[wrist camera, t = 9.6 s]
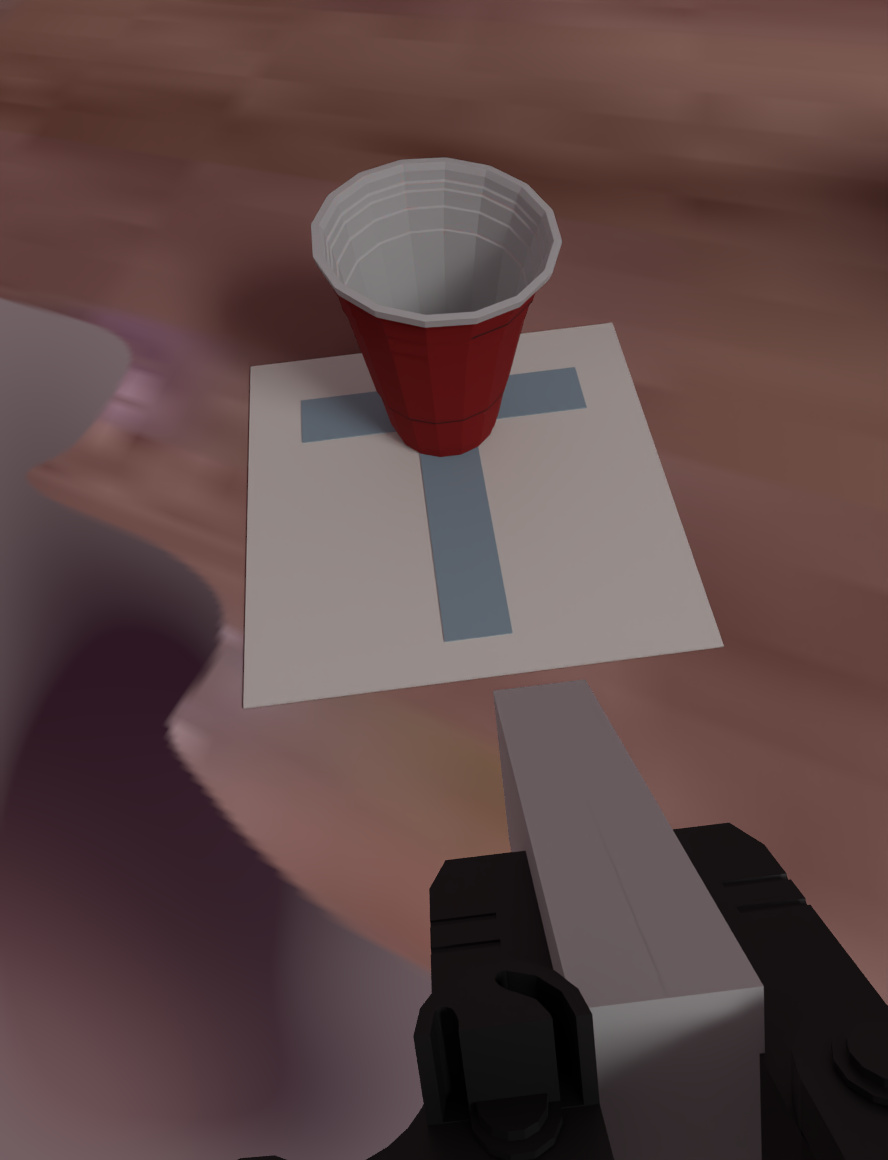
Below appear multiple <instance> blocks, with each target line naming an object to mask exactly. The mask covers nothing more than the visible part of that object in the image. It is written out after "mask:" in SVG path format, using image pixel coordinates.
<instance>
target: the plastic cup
mask: <svg viewBox="0 0 888 1160" xmlns="http://www.w3.org/2000/svg"><path fill="white" fill-rule="evenodd" d="M311 231H312V250H313V258H314V260H315V262H316V264H317V266H318V268H319V269H320V270H321V272H322V273H323V275H324V276H325V277H326V279H327V280H328V282H329V283H330V284H331V286H332V287H333V289H334V292H335V293H336V295H337V296H338V297H339V300H340V303H341V306H342V309H343V311H344V312H345V314H346V315H347V317H348V319H349V322H350V324H351V327H352V329H353V332H354V335H355V337H356V340H357V342H358V345H359V347H360V350H361V352H362V355H363V358H364V360H365V363H366V365H367V368H368V370H369V373H370V376H371V378H372V381H373V383H374V386H375V388H376V391H377V392H378V394H379V395H380V397H381V399H382V401H383V404H384V406H385V409H386V411H387V414H388V417H389V419H390V422H391V424H392V426H393V427H394V429H395V430H396V432H397V433H398V435H399V436H400V437H401V439H402V440H403V442H404V443H405V444H406V445H407V446H409V447H411V448H412V449H414V450H416V451H418V452H419V453H421V454H426V455H432V456H437V457H446V456H454V455H461V454H463V453H466V452H468V451H470V450H472V449H474V448H476V447H478V446H479V445H480V444H481V443H482V442H483V441H484V440H485V439H486V438H487V437H488V436H489V435H490V434H491V431H492V428H493V427H494V426H495V423H496V419H497V416H498V413H499V410H500V406H501V401H502V397H503V393H504V390H505V387H506V384H507V381H508V378H509V375H510V371H511V367H512V364H513V360H514V356H515V352H516V349H517V345H518V341H519V337H520V334H521V330H522V326H523V322H524V319H525V316H526V313H527V310H528V307H529V304H531V303H532V301H533V298H534V295H535V293H536V292H537V291H538V290H539V289H540V288H541V287H542V286H543V285H544V284H545V283H546V282H547V281H548V280H549V278H550V276H551V275H552V272H553V269H554V266H555V263H556V260H557V257H558V253H559V250H560V247H561V244H562V239H561V236H560V232H559V229H558V226H557V222H556V219H555V215H554V212H553V210H552V209H551V208H550V207H549V206H548V205H547V204H546V203H545V202H544V201H543V200H542V199H541V197H540V196H539V195H538V194H537V193H536V192H535V191H534V190H533V189H532V188H531V187H530V186H529V185H528V184H526V183H524V182H522V181H520V180H518V179H516V178H514V177H512V176H510V175H508V174H506V173H504V172H502V171H500V170H498V169H496V168H494V167H491V166H489V165H483V164H478V163H473V162H467V161H462V160H457V159H452V158H446V157H445V158H425V159H406V160H398V161H395V162H392V163H389V164H386V165H382V166H379V167H376V168H373V169H370V170H366V171H363V172H360V173H358V174H357V175H355V176H354V177H353V178H351V179H350V180H348V181H347V182H346V183H344V184H343V185H341V186H340V187H339V188H337V189H336V190H334V191H333V192H331V193H330V194H329V195H328V196H327V198H326V199H325V201H324V203H323V204H322V206H321V208H320V210H319V211H318V213H317V215H316V217H315V218H314V220H313V222H312V224H311Z"/></svg>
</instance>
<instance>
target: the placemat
mask: <svg viewBox="0 0 888 1160" xmlns="http://www.w3.org/2000/svg"><path fill="white" fill-rule="evenodd" d="M723 646H724V645H723V642H722V639H721V636H720V634H719V631H718V628H717V625H716V622H715V619H714V616H713V613H712V610H711V607H710V605H709V602H708V599H707V596H706V593H705V590H704V587H703V584H702V581H701V578H700V576H699V573H698V570H697V567H696V564H695V561H694V558H693V555H692V552H691V549H690V547H689V544H688V541H687V538H686V535H685V532H684V529H683V526H682V523H681V520H680V518H679V515H678V512H677V509H676V506H675V503H674V500H673V497H672V494H671V491H670V489H669V486H668V483H667V480H666V477H665V474H664V471H663V468H662V465H661V463H660V460H659V457H658V454H657V451H656V448H655V445H654V442H653V439H652V436H651V434H650V431H649V428H648V425H647V422H646V419H645V416H644V413H643V410H642V407H641V405H640V402H639V399H638V396H637V393H636V390H635V387H634V384H633V381H632V378H631V376H630V373H629V370H628V367H627V364H626V361H625V358H624V355H623V352H622V349H621V347H620V344H619V341H618V338H617V335H616V332H615V329H614V326H613V323H606V324H598V325H589V326H581V327H573V328H565V329H556V330H548V331H540V332H532V333H524V334H520V337H519V341H518V345H517V349H516V352H515V356H514V360H513V364H512V367H511V371H510V375H509V378H508V381H507V384H506V387H505V390H504V393H503V397H502V401H501V406H500V410H499V413H498V416H497V419H496V423H495V426H494V427H493V428H492V431H491V434H490V435H489V436H488V437H487V438H486V439H485V440H484V441H483V442H482V443H481V444H480V445H479V446H478V447H476V448H474V449H472V450H470V451H468V452H466V453H463V454H461V455H454V456H446V457H437V456H432V455H426V454H421V453H419V452H418V451H416V450H414V449H412V448H411V447H409V446H407V445H406V444H405V443H404V442H403V440H402V439H401V437H400V436H399V435H398V433H397V432H396V430H395V429H394V427H393V426H392V424H391V422H390V419H389V417H388V414H387V411H386V409H385V406H384V404H383V401H382V399H381V397H380V395H379V394H378V392H377V391H376V388H375V386H374V383H373V381H372V378H371V376H370V373H369V370H368V368H367V365H366V363H365V360H364V358H363V355H362V353H359V354H351V355H342V356H334V357H326V358H318V359H309V360H301V361H293V362H285V363H276V364H268V365H260V366H252V367H251V373H250V419H249V466H248V512H247V559H246V605H245V652H244V698H243V708H244V709H247V708H254V707H262V706H270V705H278V704H285V703H293V702H301V701H308V700H316V699H324V698H332V697H339V696H347V695H355V694H363V693H370V692H378V691H386V690H393V689H401V688H409V687H417V686H424V685H432V684H440V683H448V682H455V681H463V680H471V679H479V678H486V677H494V676H502V675H509V674H517V673H525V672H533V671H540V670H548V669H556V668H564V667H571V666H579V665H587V664H595V663H602V662H610V661H618V660H625V659H633V658H641V657H649V656H656V655H664V654H672V653H680V652H687V651H695V650H703V649H711V648H718V647H723Z"/></svg>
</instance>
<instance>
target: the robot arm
mask: <svg viewBox="0 0 888 1160" xmlns="http://www.w3.org/2000/svg"><path fill="white" fill-rule="evenodd" d="M493 694H494V704H495V713H496V722H497V731H498V741H499V750H500V759H501V768H502V778H503V787H504V796H505V805H506V815H507V824H508V833H509V841H510V846H511V851H512V852H510V853H502V854H494V855H485V856H477V857H469V858H461V859H453V860H446V861H445V862H444V864H443V866H442V868H441V869H440V871H439V873H438V875H437V877H436V878H435V880H434V882H433V884H432V885H431V887H430V923H431V927H430V934H431V980H432V994H431V995H430V996H429V998H428V999H427V1000H426V1002H425V1003H424V1004H423V1005H422V1007H421V1008H420V1011H419V1016H418V1020H417V1024H416V1028H415V1032H414V1042H415V1049H416V1056H417V1063H418V1069H419V1075H420V1082H421V1089H422V1095H423V1102H424V1105H423V1107H422V1109H421V1110H420V1112H419V1113H418V1114H417V1116H416V1117H415V1119H414V1120H413V1122H412V1123H411V1124H410V1126H409V1127H408V1129H406V1130H405V1131H404V1132H403V1133H402V1134H401V1135H400V1136H399V1137H398V1138H397V1139H396V1140H395V1141H394V1142H393V1143H391V1144H390V1145H389V1146H388V1147H387V1148H385V1149H383V1150H382V1151H380V1152H378V1153H377V1154H375V1155H373V1156H372V1157H370V1158H368V1159H367V1160H888V1006H887V1005H886V1003H885V1002H884V1001H883V999H882V998H881V997H880V995H879V994H878V993H877V991H876V990H875V989H874V988H873V986H872V985H871V984H870V982H869V981H868V980H867V978H866V977H865V976H864V974H863V973H862V972H861V971H860V969H859V968H858V967H857V965H856V964H855V963H854V961H853V960H852V959H851V957H850V956H849V955H848V954H847V952H846V951H845V950H844V948H843V947H842V946H841V944H840V943H839V942H838V940H837V939H836V938H835V937H834V935H833V934H832V933H831V931H830V930H829V929H828V927H827V926H826V925H825V923H824V922H823V921H822V920H821V918H820V917H819V916H818V914H817V913H816V912H815V910H814V909H813V908H812V906H811V905H807V904H806V900H805V897H804V896H803V895H802V893H801V892H800V891H799V889H798V888H797V887H796V886H795V884H794V883H793V882H792V880H788V879H787V874H786V872H785V871H784V870H783V869H782V867H781V866H780V865H779V863H778V862H777V861H776V859H775V858H774V857H773V855H772V854H771V853H770V852H769V850H768V849H767V848H766V846H765V845H764V844H762V843H761V842H759V841H757V840H756V839H754V838H753V837H751V836H750V835H748V834H746V833H745V832H743V831H742V830H740V829H738V828H737V827H735V826H734V825H732V824H730V823H723V824H714V825H706V826H698V827H690V828H682V829H672V828H671V826H670V824H669V823H668V821H667V819H666V817H665V816H664V814H663V812H662V811H661V809H660V807H659V805H658V804H657V802H656V800H655V799H654V797H653V795H652V793H651V792H650V790H649V788H648V786H647V785H646V783H645V781H644V780H643V778H642V776H641V774H640V773H639V771H638V769H637V768H636V766H635V764H634V762H633V761H632V759H631V757H630V756H629V754H628V752H627V750H626V749H625V747H624V745H623V743H622V742H621V740H620V738H619V737H618V735H617V733H616V731H615V730H614V728H613V726H612V725H611V723H610V721H609V719H608V718H607V716H606V714H605V713H604V711H603V709H602V707H601V706H600V704H599V702H598V700H597V699H596V697H595V695H594V694H593V692H592V690H591V688H590V687H589V685H588V683H587V682H586V680H578V681H569V682H561V683H553V684H545V685H536V686H528V687H520V688H512V689H504V690H495V691H493ZM238 1160H286V1159H283V1158H280V1157H277V1156H263V1157H251V1158H240V1159H238Z"/></svg>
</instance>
